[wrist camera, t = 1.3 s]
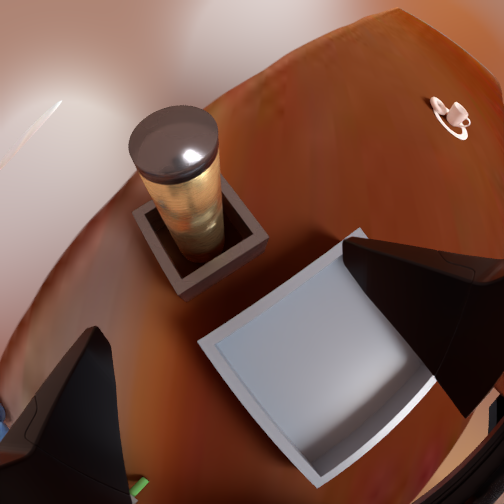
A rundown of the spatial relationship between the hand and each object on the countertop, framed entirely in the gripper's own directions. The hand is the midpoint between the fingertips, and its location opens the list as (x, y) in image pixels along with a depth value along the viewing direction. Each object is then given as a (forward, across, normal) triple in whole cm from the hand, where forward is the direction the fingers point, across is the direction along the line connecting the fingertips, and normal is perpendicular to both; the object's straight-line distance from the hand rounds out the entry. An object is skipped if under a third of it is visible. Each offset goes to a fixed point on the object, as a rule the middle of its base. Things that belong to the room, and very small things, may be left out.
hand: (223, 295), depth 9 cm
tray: (+5, -6, +14) cm, 16 cm away
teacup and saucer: (+22, -46, -3) cm, 51 cm away
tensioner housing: (+14, 0, +4) cm, 15 cm away
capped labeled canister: (+14, 0, +4) cm, 15 cm away
